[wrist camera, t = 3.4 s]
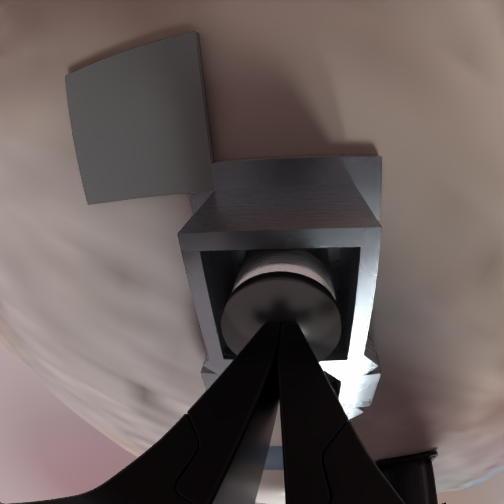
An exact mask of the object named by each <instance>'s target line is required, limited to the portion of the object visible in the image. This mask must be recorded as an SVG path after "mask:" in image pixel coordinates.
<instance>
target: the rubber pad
mask: <svg viewBox="0 0 504 504" xmlns="http://www.w3.org/2000/svg"><path fill="white" fill-rule="evenodd" d="M65 81H66V91H67V100H68V107H69V115H70V121H71V128H72V134H73V139H74V145H75V150H76V155H77V160H78V165H79V170H80V174H81V179H82V183H83V187H84V191H85V195H86V199H87V203H88V205H90V204H97V203H104V202H111V201H119V200H127V199H135V198H143V197H152V196H161V195H170V194H181V193H191V192H203V191H215V188H214V181H213V174H212V167H211V164H212V163H213V162H214V158H213V151H212V143H211V136H210V128H209V120H208V112H207V104H206V96H205V87H204V79H203V70H202V61H201V52H200V43H199V34H198V33H197V32H195V31H194V32H190V33H186V34H181V35H177V36H173V37H170V38H166V39H162V40H159V41H155V42H152V43H148V44H145V45H142V46H139V47H136V48H133V49H130V50H127V51H124V52H121V53H119V54H116V55H113V56H110V57H108V58H105V59H103V60H100V61H98V62H95V63H93V64H91V65H88V66H86V67H84V68H81V69H79V70H77V71H75V72H73V73H71V74H68V75H66V76H65Z"/></svg>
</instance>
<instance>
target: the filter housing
mask: <svg viewBox="0 0 504 504" xmlns="http://www.w3.org/2000/svg"><path fill="white" fill-rule="evenodd" d="M211 167H212V174H213V181H214V188H215V191H203V192H191V193H189V194H190V200H191V205H192V211H193V216H192V217H191V218H190V220H189V221H188V222H187V223H186V224H185V226H184V227H183V228H182V229H181V230H180V231H179V233H178V238H179V243H180V247H181V252H182V256H183V261H184V265H185V269H186V273H187V278H188V282H189V286H190V290H191V294H192V298H193V302H194V306H195V309H196V313H197V317H198V321H199V325H200V328H201V332H202V336H203V339H204V343H205V346H206V350H207V355H206V358H205V361H204V363H203V367H202V370H201V375H202V378H203V381H204V384H205V387H206V390H207V389H208V388H209V387H210V386H211V385H212V384H213V383H214V381H215V380H216V379H217V378H218V377H219V376H220V375H221V374H222V372H223V371H224V370H225V369H226V368H227V367H228V365H229V364H230V363H231V362H232V361H233V360H234V359H235V357H236V356H237V355H236V354H235V353H234V352H233V351H232V350H231V349H230V348H229V346H228V345H227V343H226V342H225V340H224V338H223V335H222V331H221V319H222V314H223V312H224V309H225V306H226V303H227V300H228V298H229V296H230V295H231V293H232V291H233V288H234V285H235V282H236V279H237V276H238V273H239V270H240V267H241V264H242V261H243V258H244V255H245V252H246V250H252V249H292V248H328V254H329V260H330V266H331V272H332V278H333V285H334V291H335V298H336V302H337V305H338V307H339V313H340V320H341V336H340V339H339V342H338V344H337V346H336V347H335V349H334V350H333V351H332V353H331V354H329V355H328V356H327V357H326V358H325V359H323V360H322V361H320V362H319V363H320V365H321V367H322V369H323V371H326V372H327V379H328V380H329V382H330V384H331V386H332V388H333V390H334V392H335V394H336V396H337V397H338V399H339V401H340V403H341V405H342V407H343V409H344V411H345V413H346V414H347V416H348V418H349V419H351V418H353V417H355V416H357V415H359V414H361V413H363V412H364V409H363V407H367V406H370V405H371V402H372V399H373V397H374V394H375V391H376V388H377V385H378V381H379V378H380V375H381V372H380V367H379V362H378V357H377V353H376V349H375V348H374V344H373V341H372V340H371V339H369V338H368V337H367V335H368V330H369V324H370V318H371V313H372V306H373V300H374V293H375V286H376V279H377V271H378V263H379V254H380V244H381V233H382V227H381V225H380V223H379V222H380V206H381V182H382V157H381V156H379V155H307V156H283V157H265V158H251V159H238V160H227V161H217V162H213V163H212V164H211Z"/></svg>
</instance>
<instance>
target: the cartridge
mask: <svg viewBox="0 0 504 504" xmlns="http://www.w3.org/2000/svg"><path fill="white" fill-rule="evenodd" d="M324 373H325V375H326V377H327V372H326V371H324ZM255 502H259V503H264V504H285V487H284V469H283V452H282V436H281V420H280V405H278V410H277V415H276V419H275V424H274V428H273V433H272V437H271V441H270V446H269V450H268V454H267V458H266V462H265V466H264V470H263V474H262V478H261V482H260V485H259V489H258V493H257V497H256V500H255Z"/></svg>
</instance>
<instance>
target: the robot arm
mask: <svg viewBox="0 0 504 504" xmlns="http://www.w3.org/2000/svg"><path fill="white" fill-rule="evenodd" d="M278 405H280V420H281V436H282V452H283V469H284V487H285V504H438V502H437V493H436V486H435V479H434V472H433V466H432V461H433V460H434V459H435V458H436V457H437V456H438V453H437V451H434V452H430V453H425V454H420V455H415V456H410V457H404V458H398V459H391V460H384V461H379V462H376V463H375V462H374V461H373V460H372V458H371V457H370V455H369V454H368V452H367V451H366V449H365V447H364V445H363V444H362V442H361V440H360V438H359V437H358V435H357V433H356V431H355V429H354V427H353V425H352V424H351V422H350V421H348V420H349V418H348V416H347V414H346V413H345V411H344V409H343V407H342V405H341V403H340V401H339V399H338V397H337V396H336V394H335V392H334V390H333V388H332V386H331V384H330V382H329V380H328V379H327V377H326V375H325V373H324V371H323V369H322V367H321V365H320V363H319V362H318V360H317V358H316V356H315V354H314V352H313V350H312V348H311V347H310V345H309V343H308V341H307V339H306V337H305V335H304V333H303V332H302V330H301V328H300V326H299V324H298V323H296V322H284V323H282V324H280V323H279V322H266V323H264V324H263V325H262V326H261V328H260V329H259V330H258V331H257V332H256V334H255V335H254V336H253V337H252V338H251V340H250V341H249V342H248V343H247V344H246V346H245V347H244V348H243V349H242V350H241V352H240V353H239V354H238V355H237V356H236V357H235V359H234V360H233V361H232V362H231V363H230V364H229V365H228V367H227V368H226V369H225V370H224V371H223V372H222V374H221V375H220V376H219V377H218V378H217V379H216V380H215V381H214V383H213V384H212V385H211V386H210V387H209V388H208V389H207V390H206V392H205V393H204V394H203V395H202V396H201V397H200V398H199V399H198V400H197V402H196V403H195V404H194V405H193V406H192V407H191V408H190V409H189V410H188V412H187V413H188V414H184V415H183V417H182V418H181V419H180V420H179V421H178V422H177V423H176V424H175V425H174V426H173V427H172V428H171V429H170V430H169V431H168V432H167V433H166V434H165V435H164V436H163V437H162V438H161V439H160V440H159V441H158V442H156V443H155V444H154V445H153V446H152V447H150V448H149V449H148V450H147V451H146V452H144V453H143V454H142V455H141V456H139V457H138V458H137V459H136V460H134V461H133V462H132V463H131V464H129V465H128V466H126V467H125V468H124V469H122V470H121V471H120V472H118V473H117V474H116V475H114V476H113V477H112V478H110V479H109V480H108V481H106V482H105V483H103V484H102V485H100V486H98V487H97V488H95V489H93V490H90V491H88V492H86V493H83V494H79V495H75V496H70V497H64V498H58V499H51V500H45V501H35V502H25V503H11V504H255V500H256V497H257V493H258V489H259V485H260V482H261V478H262V474H263V470H264V466H265V462H266V458H267V454H268V450H269V446H270V441H271V437H272V433H273V428H274V424H275V419H276V415H277V410H278ZM0 504H3V503H1V502H0ZM443 504H446V503H443Z"/></svg>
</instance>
